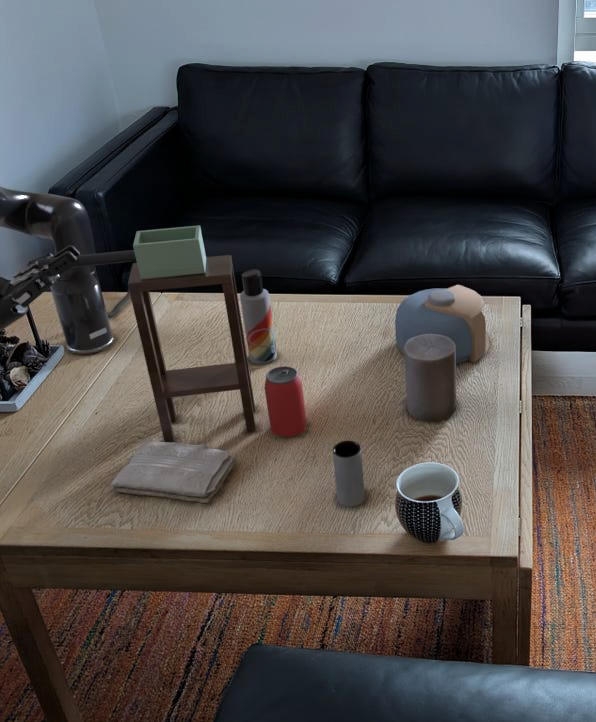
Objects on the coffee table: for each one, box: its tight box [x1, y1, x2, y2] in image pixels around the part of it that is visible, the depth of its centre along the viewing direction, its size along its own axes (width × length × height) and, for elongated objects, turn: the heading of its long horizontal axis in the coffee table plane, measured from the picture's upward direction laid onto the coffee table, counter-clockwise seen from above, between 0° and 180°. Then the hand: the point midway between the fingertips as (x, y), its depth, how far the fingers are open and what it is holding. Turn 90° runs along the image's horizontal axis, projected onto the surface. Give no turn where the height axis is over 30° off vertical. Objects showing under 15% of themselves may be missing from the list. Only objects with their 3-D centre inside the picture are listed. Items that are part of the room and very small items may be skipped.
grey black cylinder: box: [332, 439, 366, 508], centre depth 135 cm, size 4×4×10 cm
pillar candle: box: [403, 334, 457, 422], centre depth 157 cm, size 10×10×15 cm
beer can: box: [264, 365, 308, 439], centre depth 151 cm, size 7×7×12 cm
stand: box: [127, 254, 257, 443], centre depth 146 cm, size 8×16×32 cm, turn 104°
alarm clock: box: [394, 284, 490, 364], centre depth 178 cm, size 19×20×12 cm
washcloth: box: [110, 440, 237, 504], centre depth 141 cm, size 12×18×3 cm, turn 82°
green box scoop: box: [38, 224, 207, 280], centre depth 135 cm, size 6×25×6 cm, turn 104°
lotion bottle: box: [239, 268, 278, 365], centre depth 170 cm, size 6×6×20 cm
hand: (74, 253), depth 132 cm, fingers closed on green box scoop
